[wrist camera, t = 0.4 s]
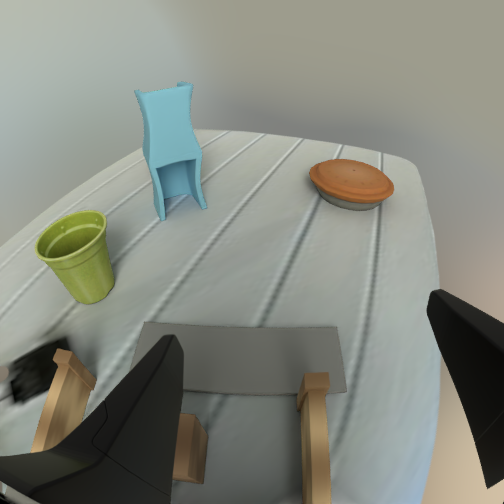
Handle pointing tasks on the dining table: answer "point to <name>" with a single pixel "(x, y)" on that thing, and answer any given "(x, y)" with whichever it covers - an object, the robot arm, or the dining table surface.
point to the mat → (250, 357)
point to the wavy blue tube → (171, 144)
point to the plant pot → (79, 254)
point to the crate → (82, 382)
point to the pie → (351, 184)
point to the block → (190, 450)
